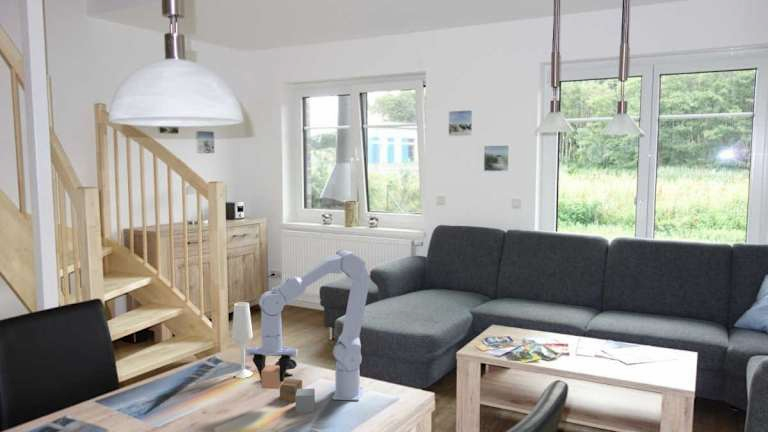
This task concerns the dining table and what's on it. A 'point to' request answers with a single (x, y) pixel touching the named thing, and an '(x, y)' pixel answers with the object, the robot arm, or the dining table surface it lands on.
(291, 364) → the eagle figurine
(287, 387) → the walnut block
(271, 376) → the terracotta block
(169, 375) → the dining table surface
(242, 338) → the champagne flute
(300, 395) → the slate grey block
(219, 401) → the dining table surface
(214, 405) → the dining table surface
